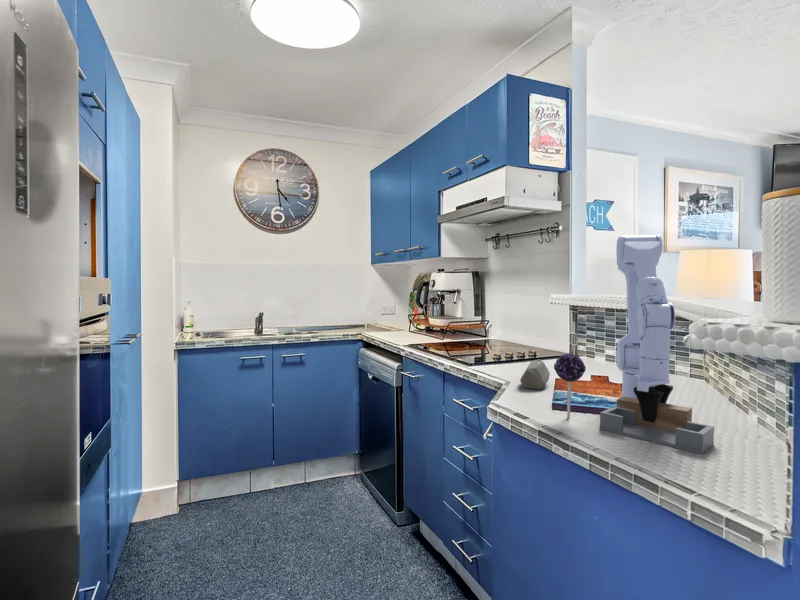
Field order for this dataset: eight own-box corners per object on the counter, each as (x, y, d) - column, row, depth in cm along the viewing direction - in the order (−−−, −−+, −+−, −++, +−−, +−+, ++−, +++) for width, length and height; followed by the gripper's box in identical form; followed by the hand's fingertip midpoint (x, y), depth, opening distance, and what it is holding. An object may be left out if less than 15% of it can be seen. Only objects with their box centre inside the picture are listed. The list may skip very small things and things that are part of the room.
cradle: (614, 422, 103) (614, 406, 103) (713, 444, 89) (714, 426, 89) (599, 429, 98) (599, 412, 98) (702, 453, 84) (702, 434, 84)
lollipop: (547, 417, 106) (548, 353, 106) (561, 412, 111) (562, 350, 111) (576, 424, 102) (577, 357, 101) (589, 418, 106) (590, 353, 106)
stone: (545, 391, 133) (546, 365, 133) (517, 388, 137) (517, 362, 136) (551, 383, 144) (552, 358, 144) (525, 381, 148) (526, 356, 147)
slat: (622, 417, 108) (622, 396, 107) (691, 431, 98) (692, 407, 98) (616, 421, 105) (616, 399, 104) (686, 435, 95) (687, 411, 95)
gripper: (646, 352, 109) (644, 409, 109) (622, 359, 99) (621, 421, 99) (680, 356, 104) (678, 415, 104) (658, 363, 94) (656, 429, 94)
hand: (652, 418), depth 101 cm, fingers closed on slat, 4 cm apart
